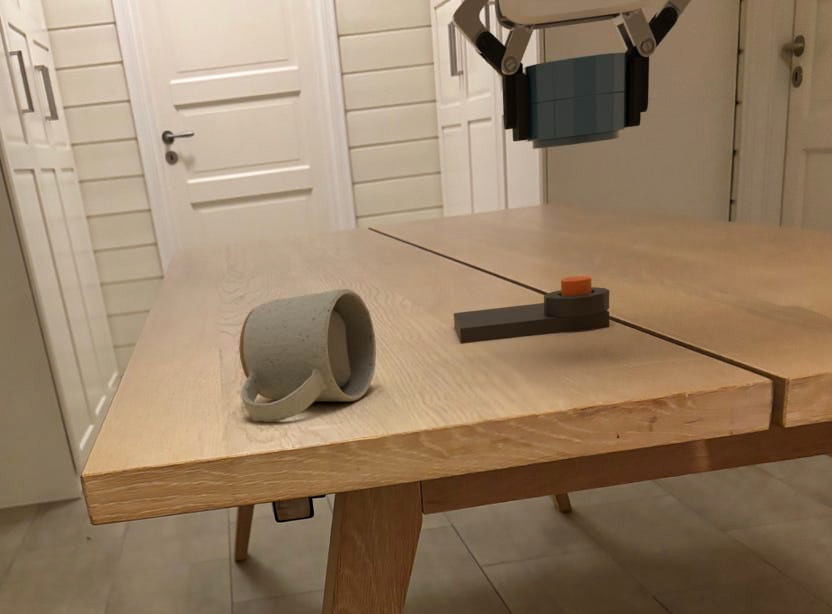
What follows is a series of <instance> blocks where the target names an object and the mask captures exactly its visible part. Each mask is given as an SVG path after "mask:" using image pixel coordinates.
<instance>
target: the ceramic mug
mask: <svg viewBox="0 0 832 614" xmlns="http://www.w3.org/2000/svg"><path fill="white" fill-rule="evenodd" d="M375 334H376V333H375V330H374V324H373V321H372V316H371V314H370V311H369V308H368V307H367V304H366V303H365V301H364V299H363V298H362V296H360V295H359V293H357V292H356V291H354V290H352V289H349V288H338V289H334V290H329V291H322V292H317V293H311V294H304V295H299V296H293V297H292V296H291V297H285V298H278V299H272V300H270V301H267V302H264V303H261V304H260V305H258V306H256V307H254V308H253V309H251V311H250V312H249V313H248V315H246V317H245V319H244V321H243V323H242V327H241V330H240V335H239V346H238V347H239V350H238V351H239V360H240V364H241V367H242V370H243V374H244V376H245V377H246V380H245V382H244V383H243V385H242V387H241V391H240V396H241V400H242V404H243V406H244V407H245V409H246V411H247V413H248V414H249V416H250V417H252V418H253V419H254V420H256V421H259V422H263V423H276V422H280V421H284V420H287V419H290V418H292V417H294V416H296V415H298V414H300V413H302V412H303V411H305V410H307V408H309V407H310V406H311V405H312V404H313V403H315V402H337V403H338V402H341V403H342V402H343V403H345V402H347V403H348V402H349V403H350V402H356V401H357V400H359V399H361V398H362V397H363V396H365V394H367V392H368V390H369V388H370V387H371V383H372V381H373V378H374V375H375V369H376V359H377V358H376V357H377V348H376V347H377V345H376V344H377V343H376V335H375ZM258 395H259V396H261V397H263V398H266V399H269V400H273V401H272V402H271V401H270V402H266V403H265V402H264V403H263V402H262V403H260V402H259V403H257V402H255V400H256V398H257V396H258Z"/></svg>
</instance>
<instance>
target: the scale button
mask: <svg viewBox="0 0 832 614" xmlns="http://www.w3.org/2000/svg"><path fill="white" fill-rule="evenodd" d="M591 287H592V276H589V275H579V276H577V275H576V276H571V277H564V278H561V280H560V290H561V296H576V295H585V294H590V293H591Z"/></svg>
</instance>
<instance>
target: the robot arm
mask: <svg viewBox="0 0 832 614" xmlns="http://www.w3.org/2000/svg"><path fill="white" fill-rule="evenodd" d="M653 1H654V0H494V9H495V16H496V20H497V23H498V24H499V25H500V27H502V28H504V29H506V30H509V32H508V34H507V37H506V40H505V42H504V44H503V43H502V42H501V41H500V40H499V39H498V38H497V36H495V35H494V34H493V33H492V32H490V31H489V30H488V28H487V27H486V26H485V24H484V23H483V21H482V20H481V17H480V14H481V11H482V10H483V9H484V8H485V6H486V5H487V4H488V3H489V2H490V0H463V1H462V2H461V3H460V5H459V6H458V8H457V9H455V11H454V12H453V14H452V18H451V22H452V24H453V27H455V29H457V31H458V32H459V33H460V34H461V35H462V36H463V38H464V39H466V41H467V42H468V43H469V44H470V45H471V46H472V47H473V49H474V50H475V52H476V53H477V54H478V55H479V56H480V57H481V58H482V59H483V60H484V61H485V62H486V63H487V64H488V65H490V67H492V69H493V70H494V71H496V74H498V76H499V77H501V87H502V89H501V90H502V113H503V117H502V118H503V128H504V130H505V131H507V130H512V141H513V142H523V141H525V140H526V138H529V107H528V76H527V75H525V73H523V68H524V64H523V62H522V61H523V59H524V55H525V53H526V50H527V48H528V45H529V43H530V40H531V37H532V35H533V32H534V31H536V30H543V29H549V28H550V29H551V28H556V27H558V28H559V27H565V26H574V25H581V24H589V23H594V22H595V23H596V22H602V21H609V20H612V22H613V25H614V27H615V29H616V31H617V34H618V35H619V38H620V40H621V42H622V45H623V47H624V49H625V52H624V53H628V84H627V128H632V127H633V128H634V127H640V125H641V118H642V113H646V112H648V109H649V91H650V89H649V88H650V87H649V86H650V83H649V82H650V56H652V55H653V54H655V51H656V49H657V48H658V46H659V45H660V43H662V41H663V40H664V39H665V37H666V36H667V35H668V33H669V32H670V31H671V30H672V28H673V27H674V26H675V25H676V23H677V22H678V19H679V18H680V16H681V15H682V14H683V13H684V11H685V10H686V8H687V7H688V6H689V4H690V2H691V1H692V0H664V2H663V4H662V5H661V7H660V8H659V10H658V11H657V12H656V13H655V14H654V15H653V17H652V18H651V19H650V20H649V22H648V20H647V17H646V15H645V14H644V11H643V9H642V8H644V7H646V6H648V5H649V4H651V3H652V2H653Z"/></svg>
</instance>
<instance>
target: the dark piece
mask: <svg viewBox="0 0 832 614" xmlns="http://www.w3.org/2000/svg"><path fill="white" fill-rule="evenodd" d="M609 309H610V290H609V289H608V288H606V287H596V286H595V287H594V286H591V293H590V294H585V295H576V296H561V289H559V290H554V291H551V292H548V293H545V294H544V295H543V302H540V303H529V304H523V305H513V306H505V307H495V308H488V309H487V308H486V309H477V310H470V311H468V310H467V311H460V312H454V313H453V325H454V329H455V332H456V335H457V338H458V341H459V342H460V343H459V344H461V345H462V344H470V343H478V342H479V343H480V342H489V341H497V340H506V339H507V340H508V339H516V338H524V337H525V338H526V337H535V336H543V335H552V334H561V333H570V332H578V331H586V330H587V331H589V330H597V329H605V328H610V311H609Z"/></svg>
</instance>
